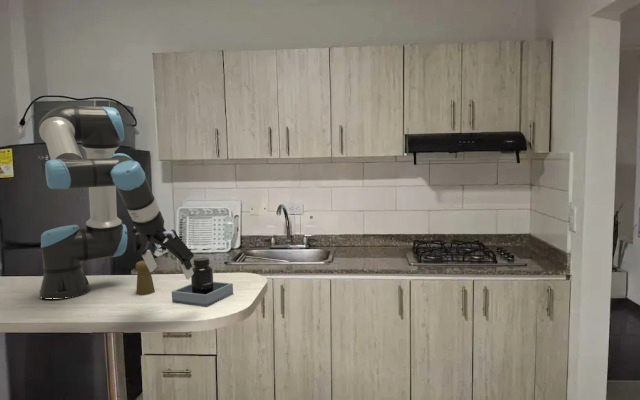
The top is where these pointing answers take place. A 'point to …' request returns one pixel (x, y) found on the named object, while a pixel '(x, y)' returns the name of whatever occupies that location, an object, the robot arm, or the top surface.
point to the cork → (144, 279)
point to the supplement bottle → (202, 276)
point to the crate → (187, 297)
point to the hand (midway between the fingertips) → (171, 272)
